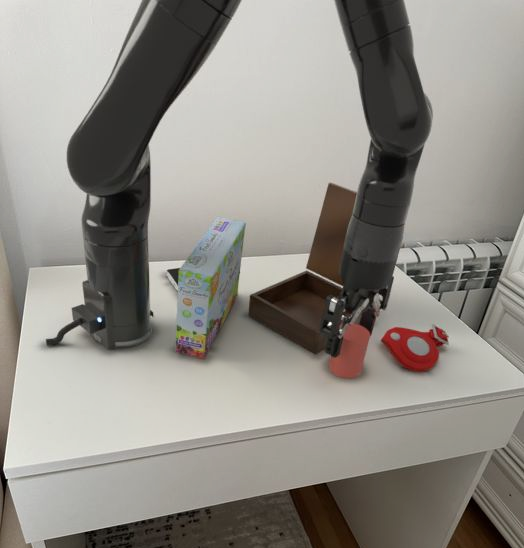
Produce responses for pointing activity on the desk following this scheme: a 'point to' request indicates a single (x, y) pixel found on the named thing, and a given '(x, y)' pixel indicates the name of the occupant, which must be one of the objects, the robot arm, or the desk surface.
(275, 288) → the chest
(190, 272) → the snack box
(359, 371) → the pink cylinder
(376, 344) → the desk surface
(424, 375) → the desk surface
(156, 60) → the robot arm
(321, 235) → the lid
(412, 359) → the red rounded piece
